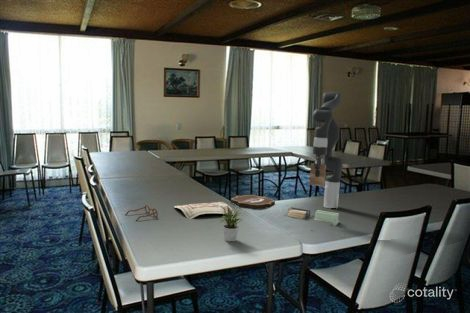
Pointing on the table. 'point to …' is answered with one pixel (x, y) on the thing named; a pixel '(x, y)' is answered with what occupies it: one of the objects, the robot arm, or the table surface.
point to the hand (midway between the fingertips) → (317, 176)
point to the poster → (203, 209)
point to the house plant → (230, 225)
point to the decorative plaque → (253, 201)
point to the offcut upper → (297, 212)
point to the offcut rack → (308, 212)
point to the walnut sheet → (318, 180)
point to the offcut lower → (296, 216)
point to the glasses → (146, 211)
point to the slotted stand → (327, 217)
